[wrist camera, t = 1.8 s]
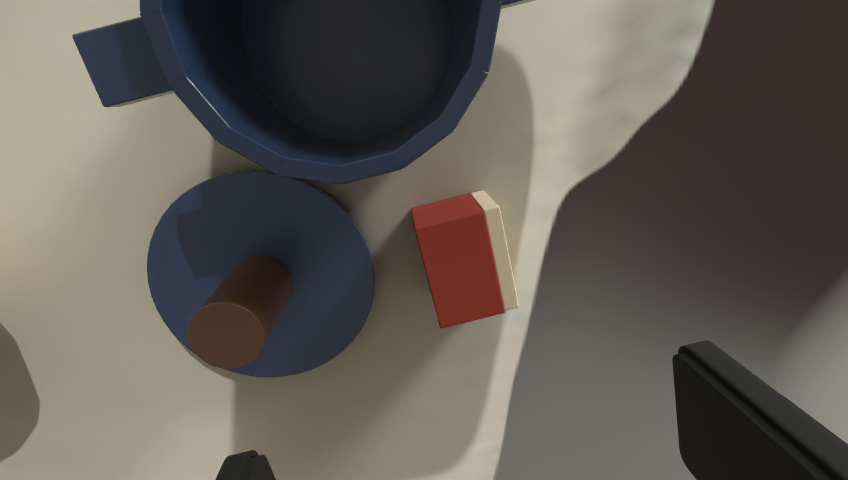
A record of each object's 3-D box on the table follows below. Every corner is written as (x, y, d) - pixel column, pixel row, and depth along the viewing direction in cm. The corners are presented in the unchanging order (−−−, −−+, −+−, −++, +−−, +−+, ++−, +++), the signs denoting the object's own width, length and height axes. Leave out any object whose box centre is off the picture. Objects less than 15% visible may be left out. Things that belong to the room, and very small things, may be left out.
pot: (136, -49, 21) (-22, -136, 13) (490, -141, 21) (551, -286, 13) (227, 188, 25) (147, 233, 17) (530, 110, 25) (599, 119, 17)
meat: (410, 208, 26) (414, 228, 22) (483, 189, 26) (500, 207, 22) (433, 294, 27) (440, 329, 23) (501, 277, 27) (520, 309, 23)
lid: (118, 200, 25) (15, 240, 18) (339, 143, 24) (320, 162, 18) (205, 388, 28) (148, 479, 22) (397, 340, 28) (399, 416, 22)
